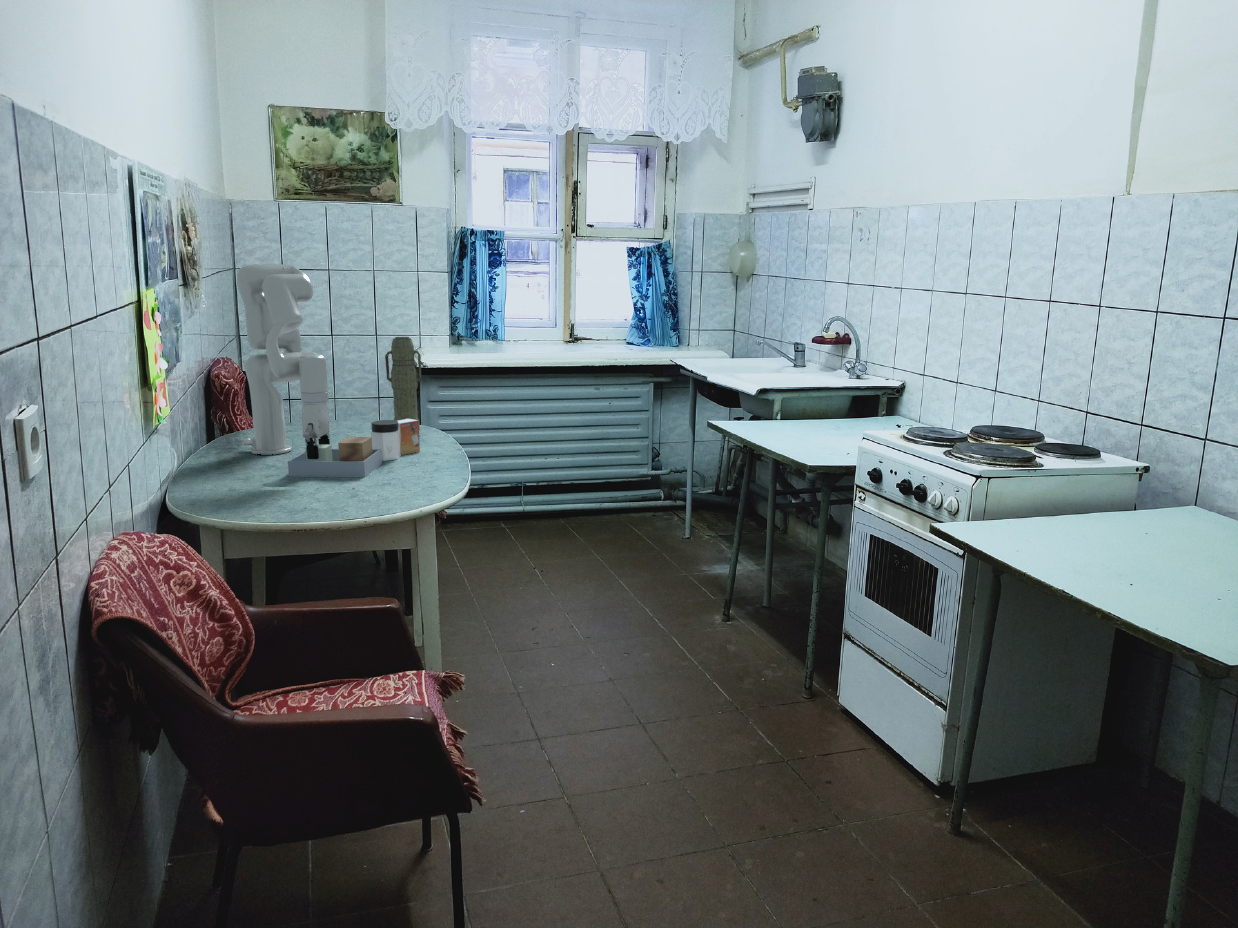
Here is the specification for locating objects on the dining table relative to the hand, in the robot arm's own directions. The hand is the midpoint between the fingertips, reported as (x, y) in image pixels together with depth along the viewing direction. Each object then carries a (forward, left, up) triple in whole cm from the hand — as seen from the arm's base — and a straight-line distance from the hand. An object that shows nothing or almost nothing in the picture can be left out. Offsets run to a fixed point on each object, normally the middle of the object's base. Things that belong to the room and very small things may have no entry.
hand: (319, 455), depth 267 cm
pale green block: (0, 0, -4) cm, 4 cm away
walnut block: (+11, 0, -4) cm, 12 cm away
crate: (+5, 0, -5) cm, 7 cm away
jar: (+15, +17, -5) cm, 23 cm away
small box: (+18, +28, -5) cm, 34 cm away
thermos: (+12, +53, -5) cm, 55 cm away
